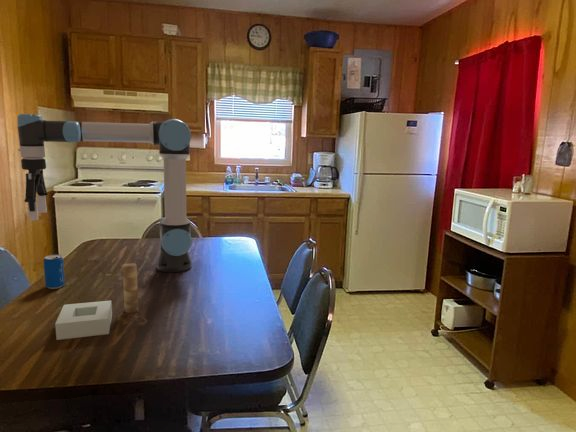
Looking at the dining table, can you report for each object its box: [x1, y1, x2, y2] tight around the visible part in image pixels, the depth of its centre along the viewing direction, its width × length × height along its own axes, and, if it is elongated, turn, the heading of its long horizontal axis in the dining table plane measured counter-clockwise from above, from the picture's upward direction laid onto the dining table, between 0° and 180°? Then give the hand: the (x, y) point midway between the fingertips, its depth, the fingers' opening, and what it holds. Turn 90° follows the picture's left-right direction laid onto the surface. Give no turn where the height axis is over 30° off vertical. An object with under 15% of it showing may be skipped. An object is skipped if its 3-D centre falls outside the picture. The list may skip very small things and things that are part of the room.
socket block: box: [54, 300, 113, 341], centre depth 129 cm, size 14×14×5 cm
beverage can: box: [43, 254, 66, 290], centre depth 159 cm, size 6×6×12 cm
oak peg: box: [122, 263, 139, 314], centre depth 140 cm, size 4×4×16 cm
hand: (38, 216), depth 153 cm, fingers open, 13 cm apart
